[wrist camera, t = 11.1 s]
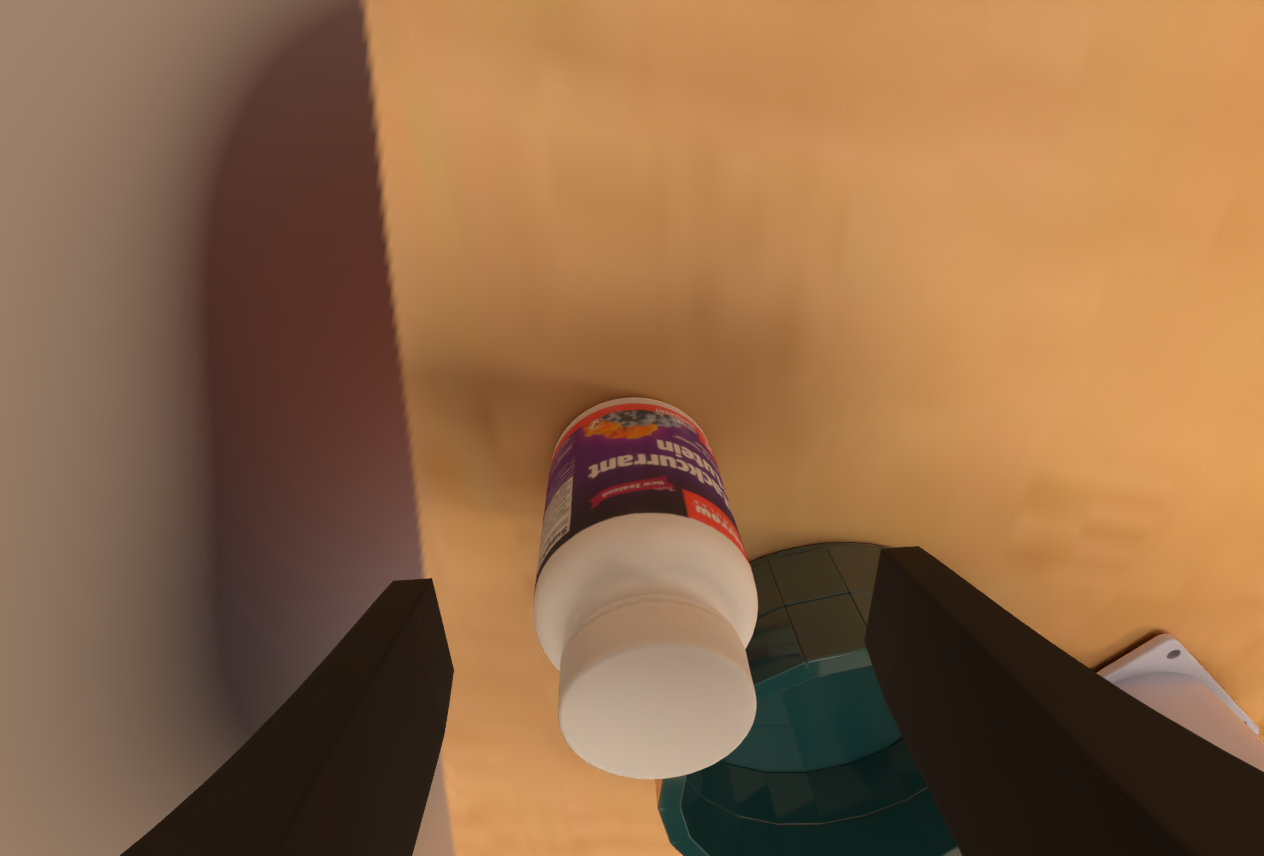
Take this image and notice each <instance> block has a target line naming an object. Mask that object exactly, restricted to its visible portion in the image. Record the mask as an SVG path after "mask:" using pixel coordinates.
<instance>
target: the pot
mask: <svg viewBox="0 0 1264 856" xmlns="http://www.w3.org/2000/svg"><path fill="white" fill-rule="evenodd" d="M885 548H888V547H884V546H879V545H873V544H862V543H825V544H816V545H808V546H802V547H798V548H793V549H789V550H784V551H780V552H777V553H774V554H771V555H768V556H765V557H762V558H759V559H756V560H754V561H752V562H750V563H749V564H750V566H751V570H752V572H753V577H754V582H755V585H756V590H757V598H758V613H757V621H756V625H755V628H754V632H753V635H752V637H751V640H750V642H749V644H748V645H747V647H746V649H745V651H746V654H747V659H748V664H749V669H750V673H751V677H752V681H753V685H754V689H755V694H756V714H755V718H754V722H753V725H752V727H751V729H750V731H749V732H748V734H747V736H746V737H745V738H744V739H743V741H742V742H741V743H740V744H739V746H738V747H737V748H736V749H735V750H733V751H732V752H731V753H730V754H729V755H727V756H726V757H724V758H723V759H721V760H719V761H718V762H716V763H715V764H713V765H711V766H709V767H706V768H704V769H702V770H699V771H696V772H694V773H691V774H687V775H683V776H678V777H672V778H665V779H655V784H656V795H657V806H658V811H659V814H660V817H661V819H662V822H663V825H664V828H665V830H666V833H667V836H668V839H669V841H670V843H671V845H672V846H673V847H675V848H676V849H677V850H678V851H679V852H680V853H681V854H682V855H683V856H962V855H961V852H960V850H959V848H958V846H957V844H956V842H955V840H954V838H953V836H952V834H951V832H950V830H949V828H948V826H947V824H946V822H945V820H944V818H943V816H942V814H941V812H940V810H939V808H938V806H937V804H936V802H935V800H934V798H933V796H932V794H931V792H930V790H929V788H928V786H927V784H926V782H925V780H924V778H923V776H922V774H921V772H920V770H919V768H918V766H917V764H916V762H915V760H914V758H913V756H912V754H911V752H910V750H909V748H908V746H907V744H906V742H905V740H904V738H903V736H902V734H901V732H900V730H899V728H898V726H897V724H896V722H895V720H894V718H893V716H892V714H891V712H890V710H889V708H888V706H887V704H886V701H885V699H884V696H883V694H882V691H881V688H880V685H879V683H878V680H877V677H876V675H875V672H874V669H873V666H872V663H871V660H870V657H869V654H868V651H867V648H866V645H865V643H864V638H865V633H866V627H867V622H868V617H869V611H870V606H871V600H872V595H873V590H874V584H875V579H876V573H877V568H878V562H879V557H880V552H881V549H885Z"/></svg>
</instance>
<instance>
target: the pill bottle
mask: <svg viewBox="0 0 1264 856" xmlns="http://www.w3.org/2000/svg"><path fill="white" fill-rule="evenodd" d="M757 613H758V598H757V590H756V585H755V582H754V577H753V572H752V570H751V566H750V564H749V561H748V559H747V556H746V553H745V550H744V547H743V544H742V541H741V538H740V535H739V532H738V529H737V526H736V523H735V520H734V517H733V514H732V511H731V508H730V505H729V501H728V498H727V495H726V492H725V489H724V486H723V482H722V479H721V476H720V473H719V469H718V466H717V463H716V460H715V456H714V453H713V451H712V449H711V447H710V444H709V442H708V440H707V438H706V436H705V434H704V432H703V431H702V429H701V428H700V427H699V425H698V424H697V423H696V422H695V421H694V420H693V419H692V418H691V417H689V416H688V415H687V414H686V413H684V412H683V411H681V410H680V409H678V408H676V407H674V406H672V405H670V404H668V403H665V402H662V401H659V400H654V399H650V398H639V397H629V398H619V399H614V400H610V401H606V402H603V403H601V404H598V405H596V406H594V407H592V408H590V409H588V410H586V411H585V412H583V413H582V414H581V415H579V416H578V417H577V418H576V419H574V420H573V421H572V422H571V423H570V424H569V426H568V427H567V428H566V429H565V431H564V432H563V434H562V435H561V437H560V438H559V440H558V442H557V444H556V447H555V449H554V452H553V456H552V461H551V466H550V471H549V479H548V487H547V494H546V503H545V511H544V518H543V528H542V535H541V544H540V552H539V561H538V569H537V575H536V584H535V597H534V623H535V629H536V633H537V636H538V639H539V642H540V644H541V647H542V649H543V651H544V652H545V654H546V656H547V657H548V658H549V660H550V661H551V663H552V664H553V665H554V666H555V667H556V668H557V669H558V670H559V671H560V682H559V724H560V728H561V732H562V734H563V736H564V739H565V740H566V742H567V743H568V745H569V746H570V748H571V749H572V750H573V751H574V752H575V753H576V754H577V755H578V756H580V757H581V758H582V759H583V760H584V761H586V762H587V763H589V764H591V765H592V766H594V767H596V768H598V769H601V770H603V771H605V772H608V773H611V774H614V775H618V776H622V777H627V778H634V779H665V778H672V777H678V776H683V775H687V774H691V773H694V772H696V771H699V770H702V769H704V768H706V767H709V766H711V765H713V764H715V763H716V762H718V761H719V760H721V759H723V758H724V757H726V756H727V755H729V754H730V753H731V752H732V751H733V750H735V749H736V748H737V747H738V746H739V744H740V743H741V742H742V741H743V739H744V738H745V737H746V736H747V734H748V732H749V731H750V729H751V727H752V725H753V722H754V718H755V714H756V694H755V689H754V685H753V681H752V677H751V673H750V669H749V664H748V659H747V654H746V651H745V649H746V647H747V645H748V644H749V642H750V640H751V637H752V635H753V632H754V628H755V625H756V621H757Z"/></svg>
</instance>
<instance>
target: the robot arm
mask: <svg viewBox="0 0 1264 856" xmlns="http://www.w3.org/2000/svg"><path fill="white" fill-rule="evenodd" d="M864 643H865V645H866V648H867V651H868V654H869V657H870V660H871V663H872V666H873V669H874V672H875V675H876V677H877V680H878V683H879V685H880V688H881V691H882V694H883V696H884V699H885V701H886V704H887V706H888V708H889V710H890V712H891V714H892V716H893V718H894V720H895V722H896V724H897V726H898V728H899V730H900V732H901V734H902V736H903V738H904V740H905V742H906V744H907V746H908V748H909V750H910V752H911V754H912V756H913V758H914V760H915V762H916V764H917V766H918V768H919V770H920V772H921V774H922V776H923V778H924V780H925V782H926V784H927V786H928V788H929V790H930V792H931V794H932V796H933V798H934V800H935V802H936V804H937V806H938V808H939V810H940V812H941V814H942V816H943V818H944V820H945V822H946V824H947V826H948V828H949V830H950V832H951V834H952V836H953V838H954V840H955V842H956V844H957V846H958V848H959V850H960V852H961V855H962V856H1264V741H1263V740H1262V739H1261V738H1260V737H1259V736H1258V734H1259V731H1260V730H1259V728H1258V726H1257V725H1256V724H1255V723H1254V722H1253V721H1252V720H1251V719H1250V718H1249V717H1248V716H1247V715H1246V713H1245V712H1244V711H1243V710H1242V709H1241V708H1240V707H1239V706H1238V705H1237V704H1236V703H1235V702H1234V700H1233V699H1232V698H1231V697H1230V696H1229V695H1228V694H1227V693H1226V692H1225V691H1224V690H1223V689H1222V687H1221V686H1220V685H1219V684H1218V683H1217V682H1216V681H1215V680H1214V679H1213V678H1212V677H1211V676H1210V674H1209V673H1208V672H1207V671H1206V670H1205V669H1204V668H1203V667H1202V666H1201V665H1200V664H1199V663H1198V661H1197V660H1196V659H1195V658H1194V657H1193V656H1192V655H1191V654H1190V653H1189V652H1188V651H1187V650H1186V648H1185V647H1184V646H1183V645H1182V644H1181V643H1180V642H1179V641H1178V640H1177V639H1176V638H1175V637H1174V636H1173V635H1171V634H1160V635H1158V636H1156V637H1154V638H1153V639H1151V640H1149V641H1148V642H1146V643H1144V644H1143V645H1141V646H1139V647H1138V648H1136V649H1134V650H1133V651H1131V652H1129V653H1128V654H1126V655H1124V656H1123V657H1121V658H1119V659H1118V660H1116V661H1114V662H1113V663H1111V664H1109V665H1108V666H1106V667H1105V668H1103V669H1101V670H1100V671H1098V672H1094V671H1093V670H1091V669H1090V668H1088V667H1086V666H1085V665H1083V664H1082V663H1080V662H1079V661H1077V660H1076V659H1074V658H1073V657H1071V656H1070V655H1069V654H1067V653H1066V652H1064V651H1063V650H1061V649H1060V648H1058V647H1057V646H1055V645H1054V644H1052V643H1051V642H1050V641H1048V640H1047V639H1045V638H1044V637H1043V636H1041V635H1040V634H1038V633H1037V632H1035V631H1034V630H1033V629H1031V628H1030V627H1028V626H1027V625H1026V624H1024V623H1023V622H1021V621H1020V620H1019V619H1017V618H1016V617H1014V616H1013V615H1012V614H1010V613H1009V612H1008V611H1006V610H1005V609H1004V608H1002V607H1001V606H999V605H998V604H997V603H995V602H994V601H993V600H991V599H990V598H989V597H987V596H986V595H985V594H983V593H982V592H981V591H979V590H978V589H976V588H975V587H974V586H972V585H971V584H970V583H968V582H967V581H966V580H964V579H963V578H962V577H960V576H959V575H958V574H956V573H955V572H954V571H952V570H951V569H950V568H948V567H947V566H945V565H944V564H943V563H941V562H940V561H939V560H937V559H936V558H934V557H933V556H932V555H930V554H929V553H927V552H926V551H924V550H923V549H922V548H920V547H919V546H915V547H900V548H885V549H881V552H880V557H879V562H878V568H877V573H876V579H875V584H874V590H873V595H872V600H871V606H870V611H869V617H868V622H867V627H866V633H865V638H864ZM453 673H454V668H453V664H452V660H451V656H450V652H449V648H448V643H447V639H446V635H445V631H444V627H443V622H442V618H441V614H440V610H439V606H438V602H437V597H436V593H435V589H434V585H433V581H432V578H430V579H415V580H399V581H393V582H392V583H391V584H390V585H389V586H388V587H387V588H386V589H385V590H384V592H383V593H382V594H381V595H380V596H379V597H378V598H377V600H376V601H375V602H374V603H373V604H372V605H371V606H370V608H369V609H368V610H367V611H366V612H365V613H364V614H363V616H362V617H361V618H360V619H359V620H358V622H357V623H356V624H355V625H354V626H353V627H352V629H351V630H350V631H349V632H348V633H347V634H346V635H345V637H344V638H343V639H342V640H341V641H340V642H339V643H338V645H337V646H336V647H335V648H334V649H333V650H332V652H331V653H330V654H329V655H328V656H327V657H326V658H325V659H324V660H323V661H322V663H321V664H320V665H319V666H318V667H317V668H316V669H315V670H314V671H313V672H312V674H311V675H310V676H309V677H308V678H307V679H306V680H305V681H304V682H303V683H302V685H301V686H300V687H299V688H298V689H297V690H296V691H295V692H294V693H293V694H292V695H291V697H290V698H289V699H288V700H287V701H286V702H285V703H284V704H283V705H282V706H281V707H280V708H279V709H278V710H277V711H276V712H275V713H274V714H273V715H272V716H271V717H270V718H269V719H268V720H267V721H266V722H265V723H264V724H263V725H262V726H261V728H259V730H258V731H257V732H256V733H255V734H254V735H253V736H252V737H251V738H250V739H249V740H248V741H247V742H246V743H245V744H244V745H243V746H242V747H241V748H240V749H239V750H238V751H237V752H236V753H235V754H234V755H233V756H232V757H231V758H230V759H229V760H228V761H227V762H225V763H224V764H223V765H222V766H221V767H220V768H219V769H218V770H217V771H216V772H215V773H214V774H213V775H212V776H211V777H210V778H209V779H208V780H207V781H205V782H204V783H203V784H202V785H201V786H200V787H199V788H198V789H197V790H196V791H194V792H193V794H191V795H190V796H189V797H188V798H187V799H185V800H184V801H183V802H182V803H181V804H180V805H179V806H178V807H177V808H175V809H174V811H172V812H171V813H170V814H169V815H168V816H166V817H165V818H164V819H163V820H162V821H161V822H160V823H158V824H157V825H156V826H155V827H154V828H153V829H152V830H150V831H149V832H148V833H147V834H146V835H145V836H143V837H142V838H141V839H140V840H138V841H137V842H136V843H135V844H133V845H132V846H131V847H130V848H129V849H127V850H126V851H125V852H124V853H122V854H121V855H120V856H412V854H413V850H414V846H415V843H416V839H417V836H418V832H419V828H420V824H421V821H422V817H423V813H424V809H425V806H426V802H427V799H428V795H429V791H430V787H431V783H432V780H433V776H434V772H435V769H436V765H437V761H438V757H439V753H440V750H441V746H442V742H443V738H444V734H445V728H446V721H447V715H448V709H449V702H450V695H451V687H452V680H453Z"/></svg>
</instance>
